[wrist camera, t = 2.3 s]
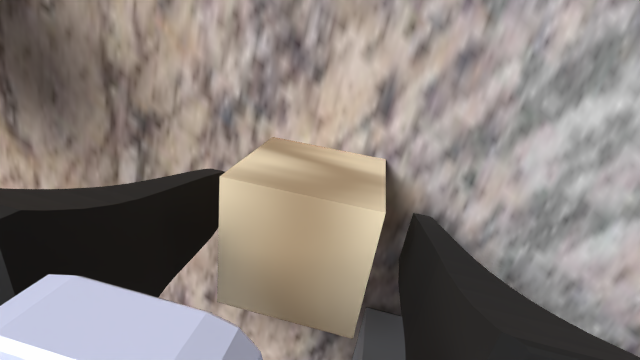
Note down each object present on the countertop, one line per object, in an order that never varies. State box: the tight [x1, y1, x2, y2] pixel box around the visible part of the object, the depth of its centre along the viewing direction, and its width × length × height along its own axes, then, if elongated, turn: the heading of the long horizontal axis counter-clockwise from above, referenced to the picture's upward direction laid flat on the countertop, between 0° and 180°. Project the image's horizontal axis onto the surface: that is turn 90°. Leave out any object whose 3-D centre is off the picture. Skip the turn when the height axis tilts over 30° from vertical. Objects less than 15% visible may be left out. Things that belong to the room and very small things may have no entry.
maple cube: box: [217, 137, 386, 339], centre depth 11 cm, size 4×4×4 cm
